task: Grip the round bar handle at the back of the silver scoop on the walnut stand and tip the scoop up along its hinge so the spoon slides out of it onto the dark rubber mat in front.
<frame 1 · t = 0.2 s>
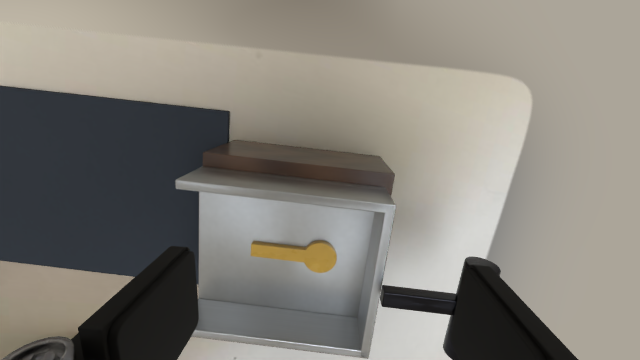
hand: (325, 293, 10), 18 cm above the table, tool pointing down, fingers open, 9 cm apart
mat: (46, 184, 30), on the table
spoon: (293, 251, 22), point 8 cm above the table, touching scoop
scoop: (325, 273, 20), point 10 cm above the table, hinge at 0.0°, touching spoon, stand
stand: (232, 205, 29), on the table
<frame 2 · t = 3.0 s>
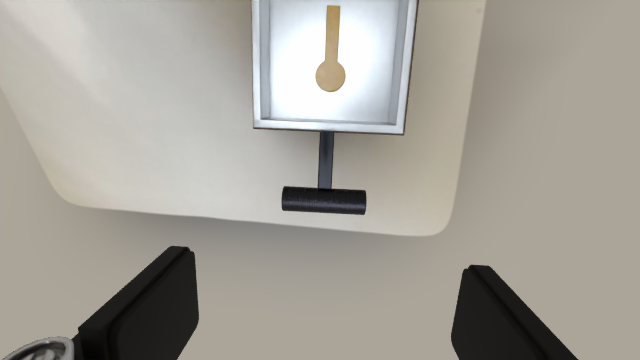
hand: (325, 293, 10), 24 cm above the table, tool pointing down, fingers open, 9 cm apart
spoon: (331, 49, 24), point 8 cm above the table, touching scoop
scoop: (329, 80, 22), point 10 cm above the table, hinge at 0.0°, touching spoon, stand
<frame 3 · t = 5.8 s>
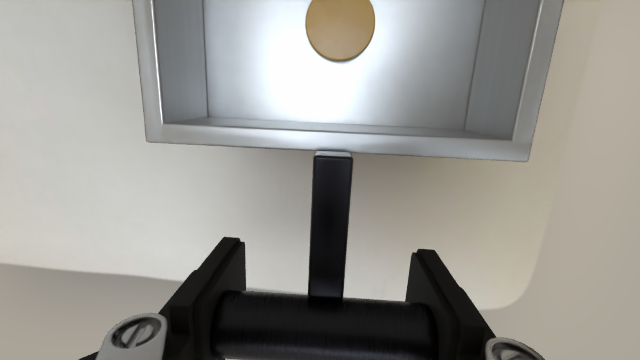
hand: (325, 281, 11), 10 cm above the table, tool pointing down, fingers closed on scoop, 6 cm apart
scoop: (340, 23, 9), point 10 cm above the table, hinge at 0.0°, touching gripper, spoon, stand
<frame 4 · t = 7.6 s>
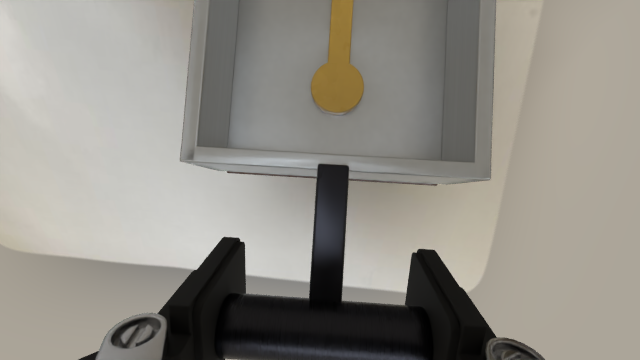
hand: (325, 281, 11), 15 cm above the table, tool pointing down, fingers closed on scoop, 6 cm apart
spoon: (339, 48, 14), point 10 cm above the table, tilted 18°, touching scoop
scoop: (337, 81, 12), point 13 cm above the table, hinge at 18.0°, touching gripper, spoon, stand
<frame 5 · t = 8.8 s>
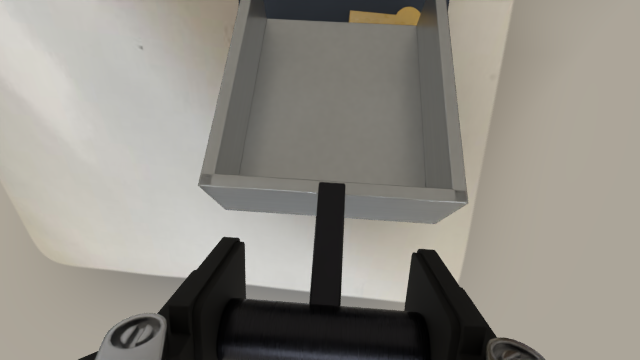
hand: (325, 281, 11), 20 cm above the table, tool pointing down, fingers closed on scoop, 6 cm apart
spoon: (383, 21, 26), resting on mat
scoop: (335, 128, 14), point 15 cm above the table, hinge at 35.6°, touching gripper, stand
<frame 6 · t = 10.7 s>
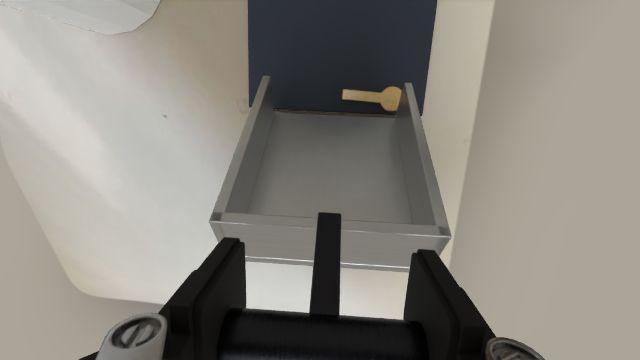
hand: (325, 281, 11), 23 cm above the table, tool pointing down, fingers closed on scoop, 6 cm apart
spoon: (371, 97, 31), resting on mat
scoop: (331, 182, 17), point 17 cm above the table, hinge at 56.5°, touching gripper, stand
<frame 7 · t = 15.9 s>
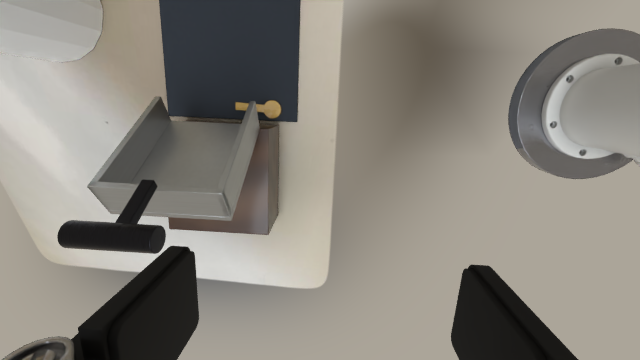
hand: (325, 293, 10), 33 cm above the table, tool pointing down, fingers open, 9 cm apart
spoon: (258, 107, 41), resting on mat
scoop: (174, 166, 27), point 17 cm above the table, hinge at 56.6°, touching stand
container: (54, 8, 40), on the table
stand: (233, 122, 42), on the table
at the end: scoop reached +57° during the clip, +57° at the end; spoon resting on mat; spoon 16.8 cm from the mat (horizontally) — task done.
